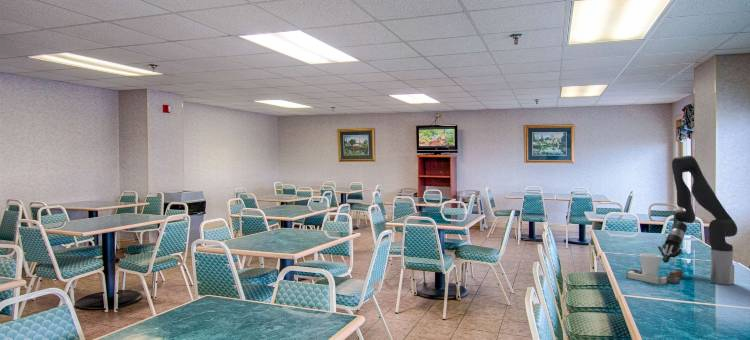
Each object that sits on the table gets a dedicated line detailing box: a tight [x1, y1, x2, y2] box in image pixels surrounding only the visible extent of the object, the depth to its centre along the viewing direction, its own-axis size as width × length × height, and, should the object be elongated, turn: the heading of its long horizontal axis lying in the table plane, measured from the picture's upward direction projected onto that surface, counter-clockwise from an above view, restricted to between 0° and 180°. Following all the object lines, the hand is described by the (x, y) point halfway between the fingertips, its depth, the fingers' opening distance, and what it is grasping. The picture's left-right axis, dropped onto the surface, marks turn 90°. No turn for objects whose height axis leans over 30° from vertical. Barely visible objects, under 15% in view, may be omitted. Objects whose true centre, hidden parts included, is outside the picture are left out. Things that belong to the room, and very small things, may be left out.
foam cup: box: [639, 253, 661, 277], centre depth 254 cm, size 10×9×13 cm
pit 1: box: [627, 268, 642, 274], centre depth 263 cm, size 6×6×2 cm
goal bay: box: [625, 271, 668, 285], centre depth 252 cm, size 18×6×3 cm, turn 34°
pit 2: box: [665, 275, 681, 285], centre depth 248 cm, size 6×6×2 cm
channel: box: [640, 267, 683, 279], centre depth 261 cm, size 17×10×4 cm, turn 34°
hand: (664, 261), depth 263 cm, fingers closed
